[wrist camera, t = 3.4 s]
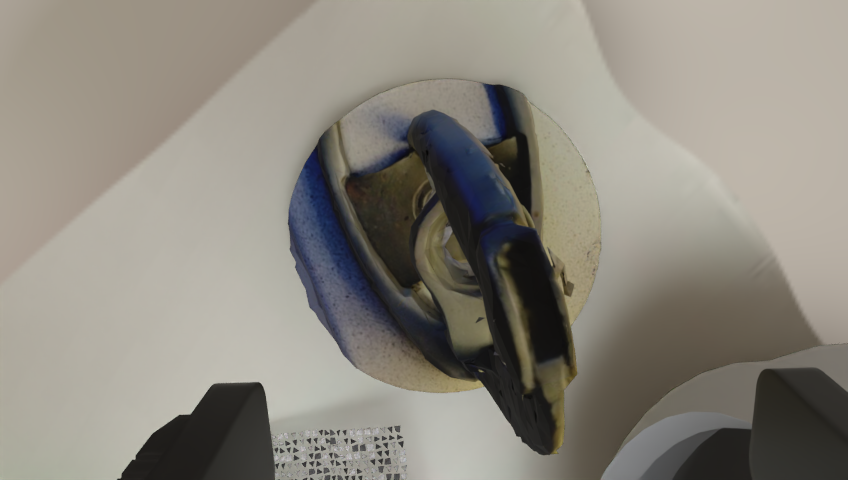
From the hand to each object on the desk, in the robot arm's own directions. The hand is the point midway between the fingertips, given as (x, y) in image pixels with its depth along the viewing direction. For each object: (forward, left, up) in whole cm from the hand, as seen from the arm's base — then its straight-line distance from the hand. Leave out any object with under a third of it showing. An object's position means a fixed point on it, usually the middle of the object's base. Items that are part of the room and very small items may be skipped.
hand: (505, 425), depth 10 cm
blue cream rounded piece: (+1, -2, -16) cm, 16 cm away
